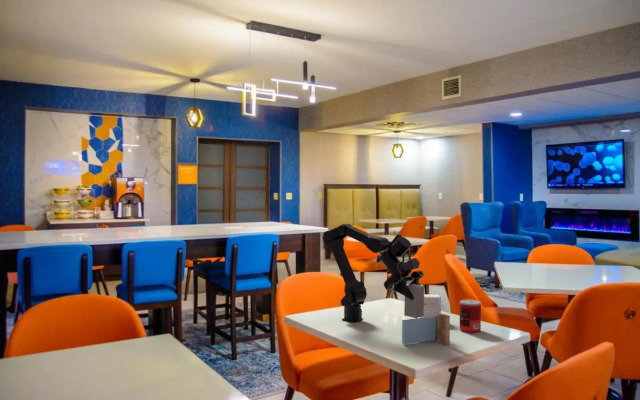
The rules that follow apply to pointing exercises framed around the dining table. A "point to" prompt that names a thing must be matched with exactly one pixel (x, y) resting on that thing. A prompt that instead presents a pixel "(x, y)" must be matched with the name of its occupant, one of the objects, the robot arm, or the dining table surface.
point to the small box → (431, 305)
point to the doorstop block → (415, 302)
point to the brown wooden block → (443, 328)
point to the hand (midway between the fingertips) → (417, 298)
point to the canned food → (470, 316)
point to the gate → (419, 330)
